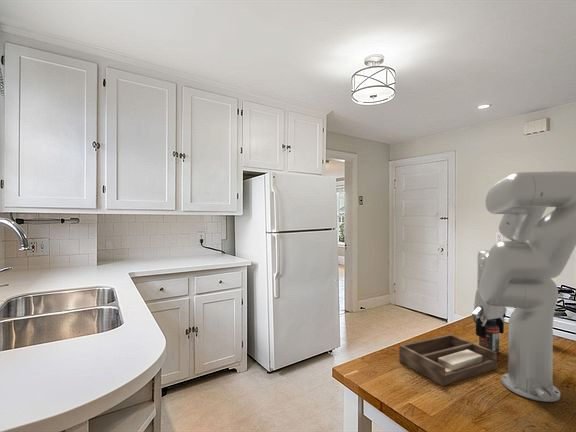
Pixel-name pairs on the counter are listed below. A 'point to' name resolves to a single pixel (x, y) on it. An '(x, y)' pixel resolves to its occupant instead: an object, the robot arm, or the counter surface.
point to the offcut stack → (459, 360)
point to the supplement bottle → (490, 336)
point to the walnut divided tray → (429, 350)
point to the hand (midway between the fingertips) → (489, 334)
